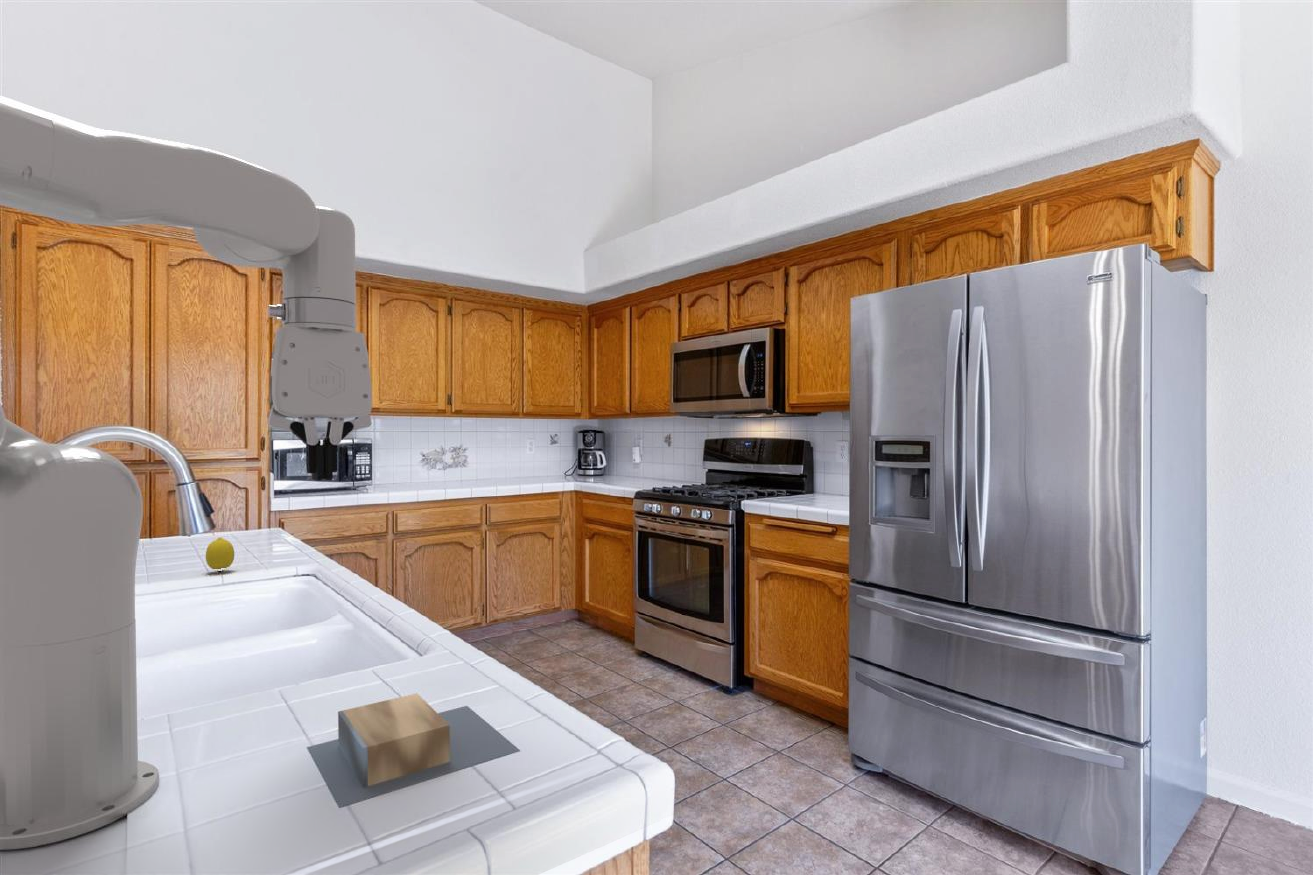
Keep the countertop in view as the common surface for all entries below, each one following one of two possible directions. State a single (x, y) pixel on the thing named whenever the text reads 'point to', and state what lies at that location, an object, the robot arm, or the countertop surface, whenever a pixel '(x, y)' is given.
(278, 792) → the countertop surface
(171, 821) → the countertop surface
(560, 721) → the countertop surface
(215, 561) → the lemon
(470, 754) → the mat
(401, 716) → the oak slab
